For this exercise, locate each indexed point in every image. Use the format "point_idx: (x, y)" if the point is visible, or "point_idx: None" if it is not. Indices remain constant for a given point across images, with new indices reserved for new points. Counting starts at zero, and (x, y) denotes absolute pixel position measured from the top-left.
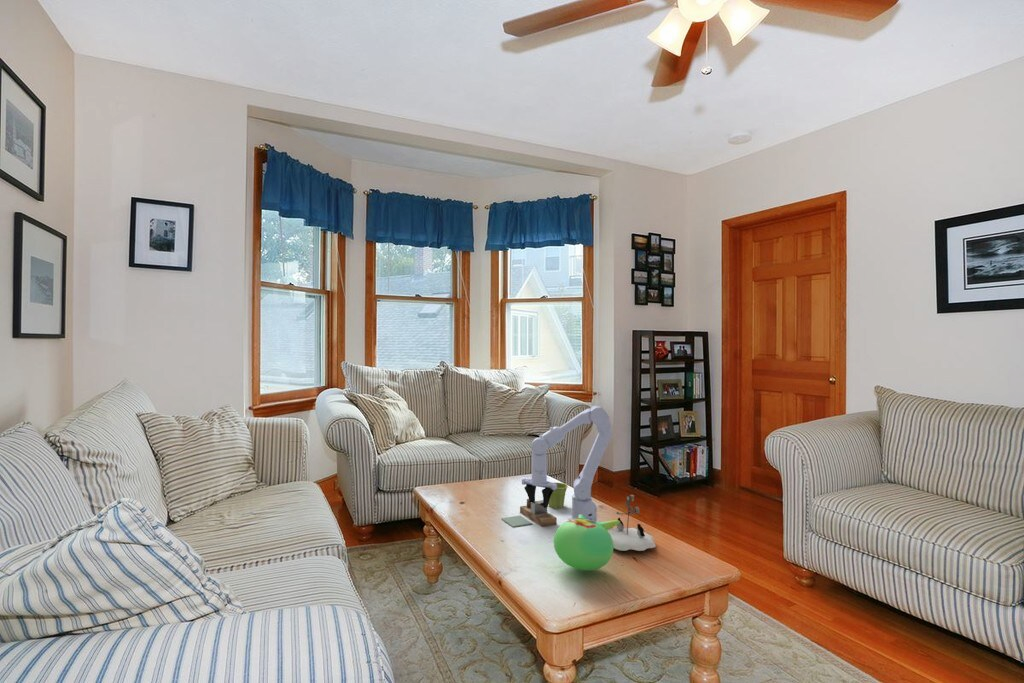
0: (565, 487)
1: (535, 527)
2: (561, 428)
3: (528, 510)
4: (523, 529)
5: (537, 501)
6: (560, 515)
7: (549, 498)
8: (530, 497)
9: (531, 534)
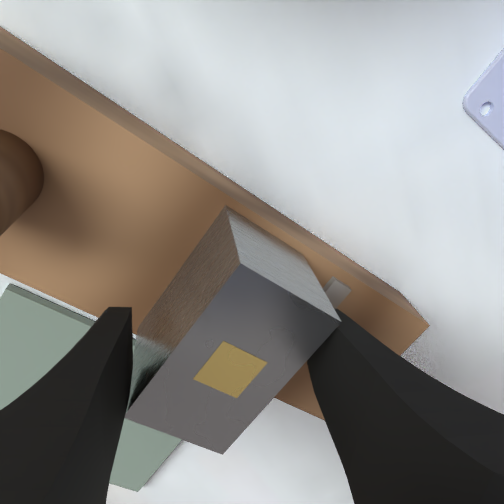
0: None
1: (276, 412)
2: None
3: (75, 290)
4: (221, 472)
5: (197, 362)
6: (367, 27)
7: (408, 374)
8: (107, 474)
9: (304, 498)
